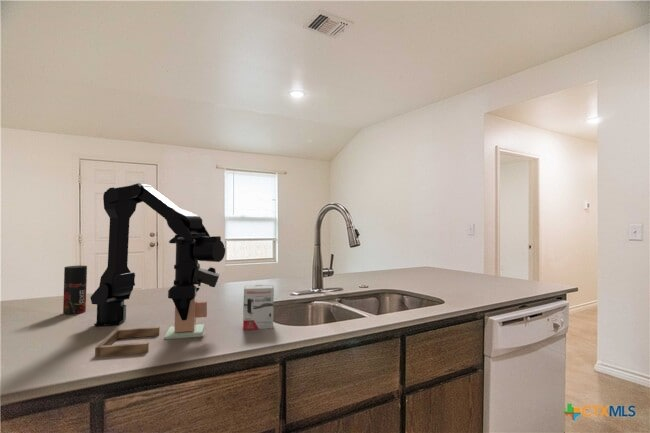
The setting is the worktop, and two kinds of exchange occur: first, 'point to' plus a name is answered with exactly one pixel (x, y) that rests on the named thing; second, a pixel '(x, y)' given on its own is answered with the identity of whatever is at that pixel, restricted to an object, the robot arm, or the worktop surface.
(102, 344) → the walnut cradle
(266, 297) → the ink box
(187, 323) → the block with side knob
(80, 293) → the deodorant
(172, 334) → the green mat
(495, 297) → the worktop surface
